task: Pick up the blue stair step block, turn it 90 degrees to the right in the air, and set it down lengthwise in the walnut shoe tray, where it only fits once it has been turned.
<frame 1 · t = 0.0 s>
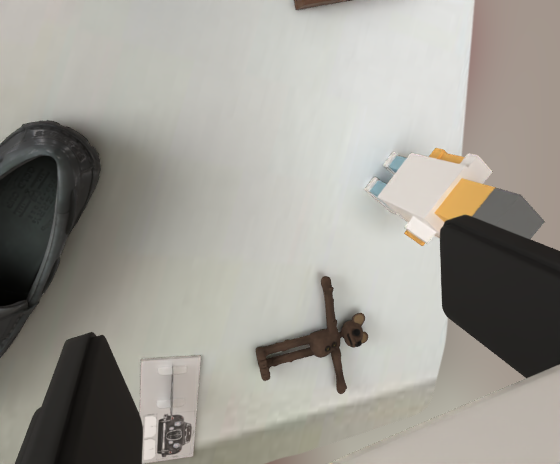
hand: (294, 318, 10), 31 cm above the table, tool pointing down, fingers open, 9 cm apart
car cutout: (168, 407, 48), on the table
character figure: (388, 185, 46), on the table
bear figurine: (309, 337, 50), on the table
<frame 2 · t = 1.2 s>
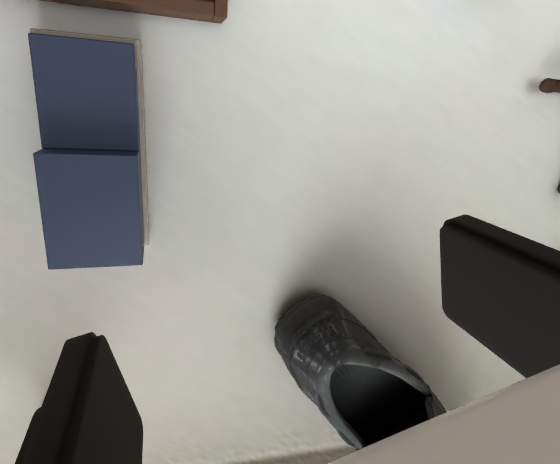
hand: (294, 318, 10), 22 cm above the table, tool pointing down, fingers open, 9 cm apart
loafer: (360, 381, 42), on the table
blue stair step block: (100, 147, 27), on the table
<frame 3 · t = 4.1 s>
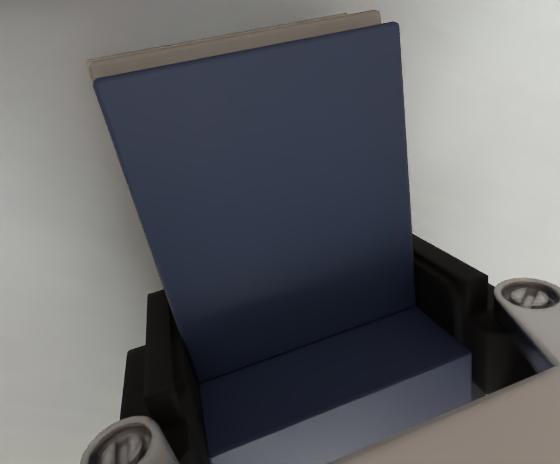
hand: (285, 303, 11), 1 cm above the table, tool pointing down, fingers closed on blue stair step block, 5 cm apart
blue stair step block: (272, 282, 12), on the table, touching gripper
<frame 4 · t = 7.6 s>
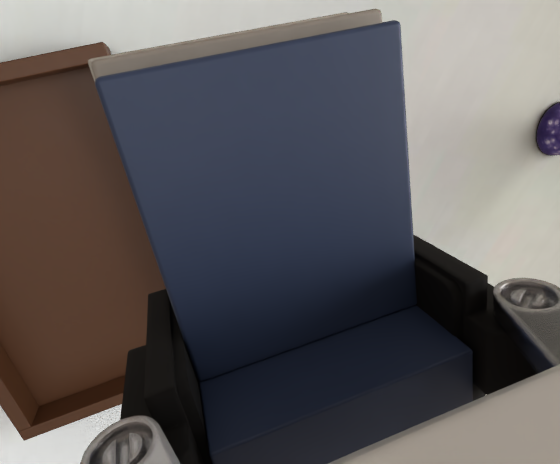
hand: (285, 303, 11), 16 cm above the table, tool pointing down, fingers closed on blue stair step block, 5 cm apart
blue stair step block: (273, 281, 12), point 14 cm above the table, touching gripper
shoe tray: (67, 251, 24), on the table
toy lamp: (551, 131, 32), on the table
when the fingers open (2 cm above the table, at t = 12.0 s): blue stair step block stays where it is, resting on shoe tray.
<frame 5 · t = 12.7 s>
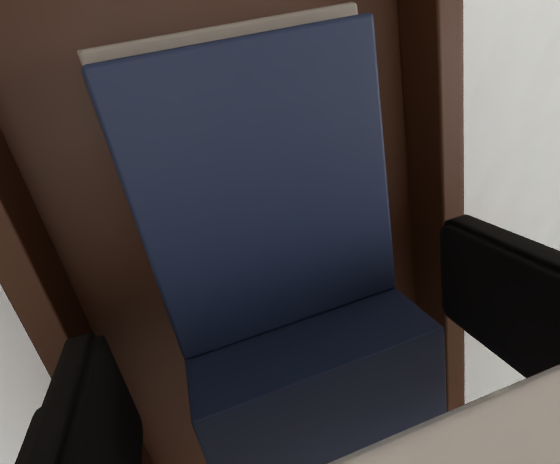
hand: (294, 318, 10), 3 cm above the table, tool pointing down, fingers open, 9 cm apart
blue stair step block: (260, 268, 13), point 1 cm above the table, touching shoe tray
shoe tray: (259, 264, 13), on the table
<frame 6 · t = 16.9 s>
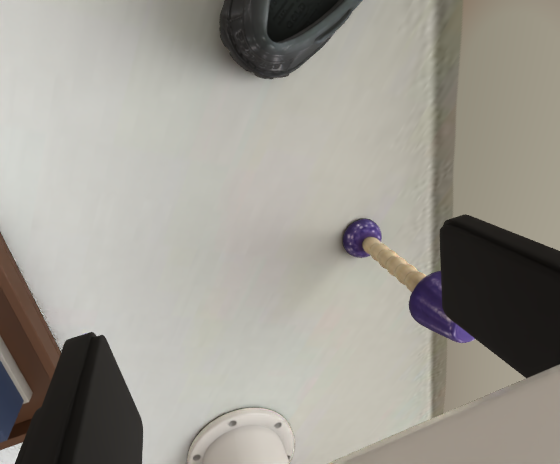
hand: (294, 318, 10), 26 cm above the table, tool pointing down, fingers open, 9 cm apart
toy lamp: (357, 239, 42), on the table
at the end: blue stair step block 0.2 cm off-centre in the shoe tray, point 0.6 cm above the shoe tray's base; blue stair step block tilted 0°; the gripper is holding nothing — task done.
